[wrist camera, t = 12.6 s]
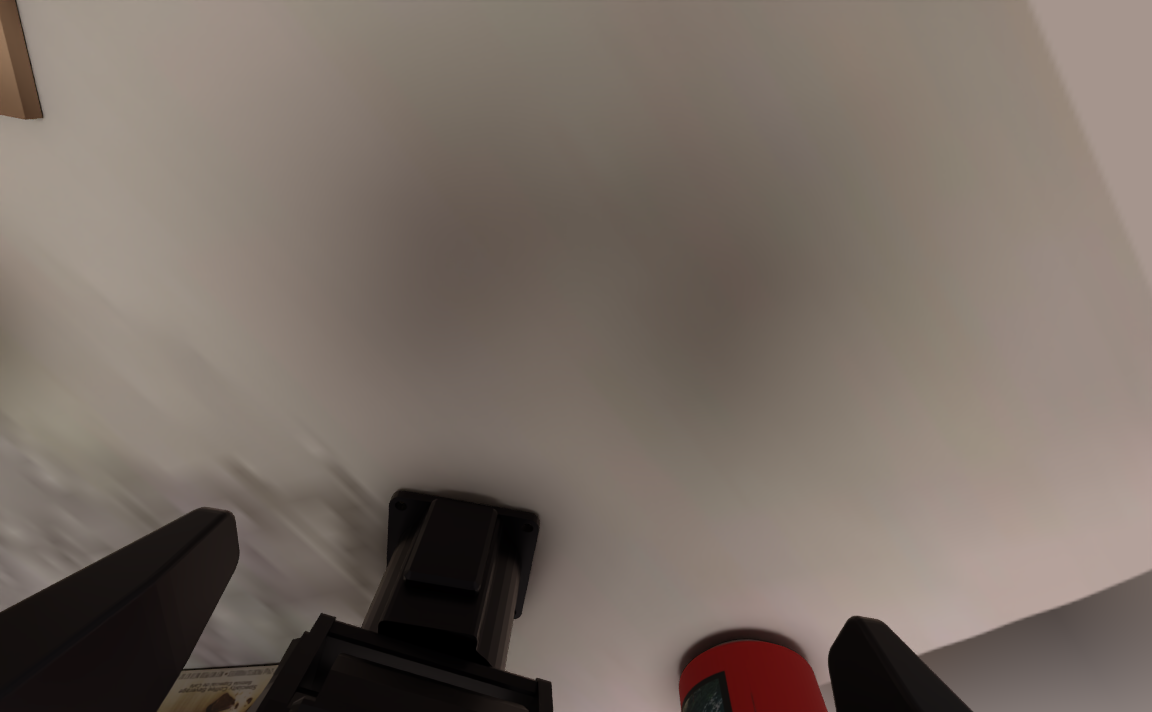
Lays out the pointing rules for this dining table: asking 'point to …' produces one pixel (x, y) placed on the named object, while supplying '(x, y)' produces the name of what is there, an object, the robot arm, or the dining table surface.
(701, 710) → the beverage can
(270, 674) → the coffee box
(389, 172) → the dining table surface
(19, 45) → the walnut socket
